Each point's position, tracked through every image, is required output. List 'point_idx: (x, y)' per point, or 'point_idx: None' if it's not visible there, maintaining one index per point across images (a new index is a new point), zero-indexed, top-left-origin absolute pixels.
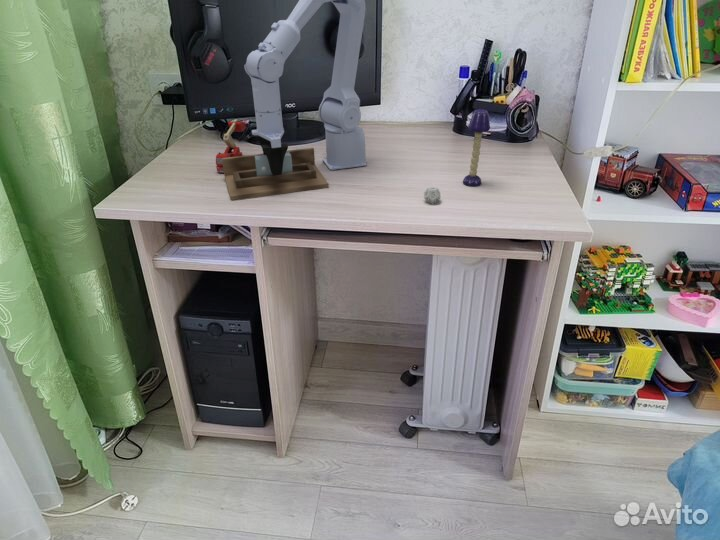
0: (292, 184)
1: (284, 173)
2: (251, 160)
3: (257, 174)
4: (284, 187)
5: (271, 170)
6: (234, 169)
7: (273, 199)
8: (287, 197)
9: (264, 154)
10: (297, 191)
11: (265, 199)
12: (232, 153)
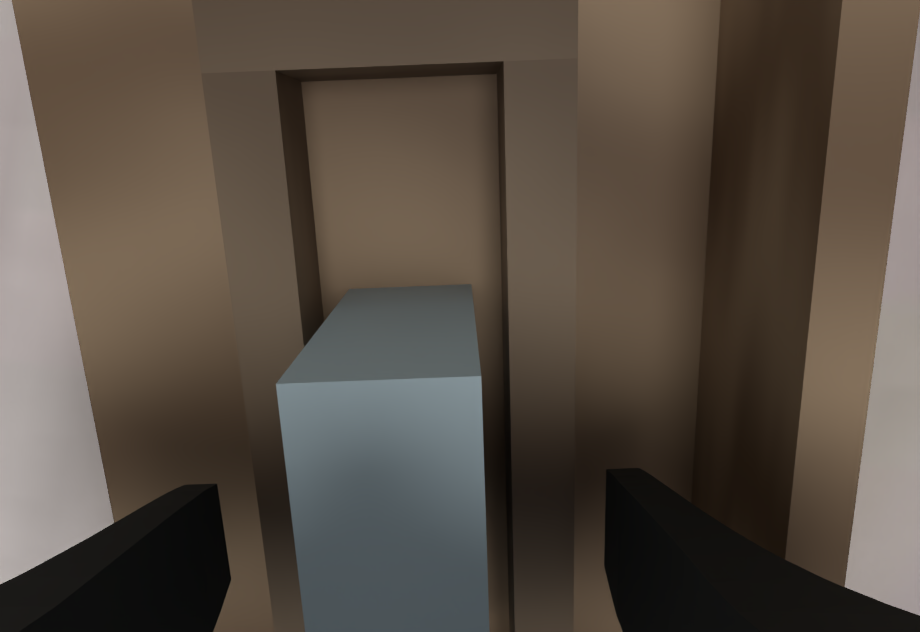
0: None
1: None
2: (775, 289)
3: (383, 307)
4: None
5: (132, 514)
6: (746, 21)
7: (8, 372)
8: (38, 494)
9: (653, 526)
10: None
11: (18, 300)
12: None
